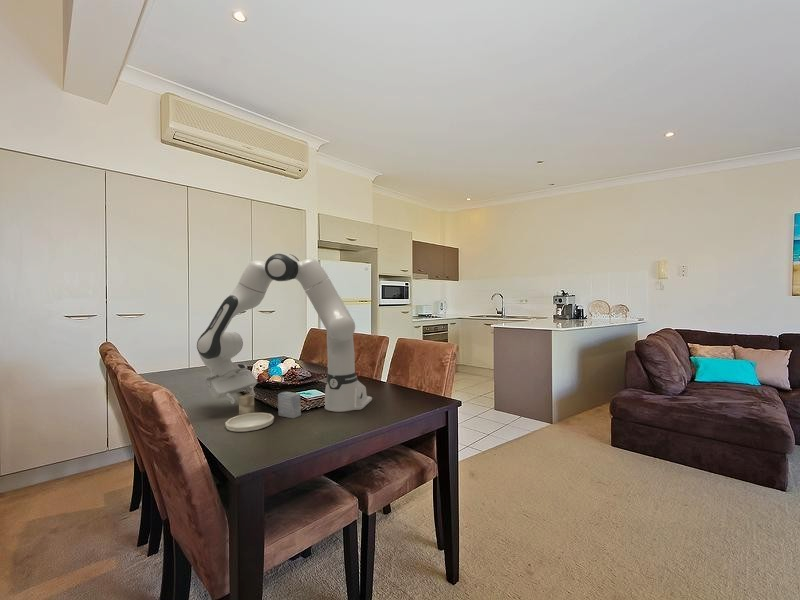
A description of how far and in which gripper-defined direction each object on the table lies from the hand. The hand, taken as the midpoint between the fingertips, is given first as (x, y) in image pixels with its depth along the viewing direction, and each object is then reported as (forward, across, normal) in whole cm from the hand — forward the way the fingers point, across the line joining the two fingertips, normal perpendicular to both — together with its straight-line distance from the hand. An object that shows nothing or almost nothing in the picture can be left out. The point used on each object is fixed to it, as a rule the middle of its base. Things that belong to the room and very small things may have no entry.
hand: (244, 399), depth 152 cm
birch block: (+5, 0, +3) cm, 6 cm away
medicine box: (+18, +4, -10) cm, 20 cm away
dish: (+12, -9, -5) cm, 16 cm away
